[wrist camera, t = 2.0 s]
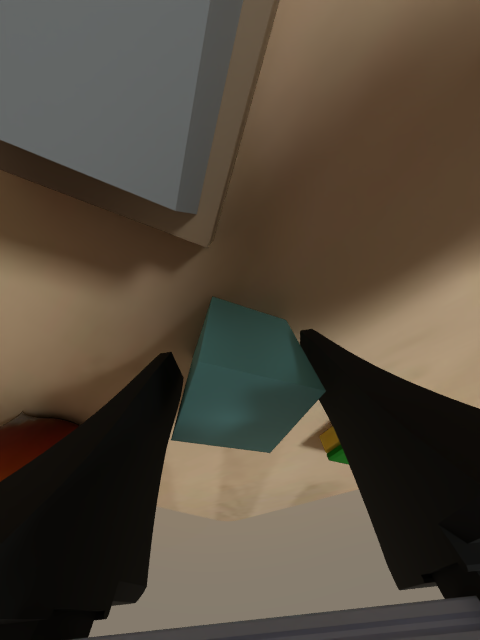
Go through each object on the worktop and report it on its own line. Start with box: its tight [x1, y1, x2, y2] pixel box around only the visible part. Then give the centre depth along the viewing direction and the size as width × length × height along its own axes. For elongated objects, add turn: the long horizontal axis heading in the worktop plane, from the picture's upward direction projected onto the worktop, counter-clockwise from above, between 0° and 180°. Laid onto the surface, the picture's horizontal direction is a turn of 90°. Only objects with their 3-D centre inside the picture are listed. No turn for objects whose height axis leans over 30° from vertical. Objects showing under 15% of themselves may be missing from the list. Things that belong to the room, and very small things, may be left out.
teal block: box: [171, 296, 326, 453], centre depth 9 cm, size 4×4×5 cm
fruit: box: [0, 411, 79, 482], centre depth 12 cm, size 8×8×8 cm
